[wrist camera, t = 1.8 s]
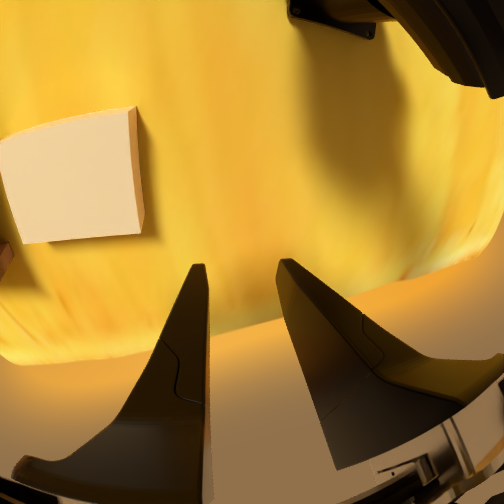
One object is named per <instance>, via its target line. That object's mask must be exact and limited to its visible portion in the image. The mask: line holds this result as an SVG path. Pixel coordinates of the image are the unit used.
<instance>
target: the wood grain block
mask: <svg viewBox="0 0 504 504" xmlns="http://www.w3.org/2000/svg"><path fill="white" fill-rule="evenodd" d="M13 257H14V254H13V252H12V250H11V247H10V245H9V243H0V280H1V278H2V277H3V275H4V273H5V271H6V269H7V267H8V265H9V264H10V262H11V260H12V258H13Z"/></svg>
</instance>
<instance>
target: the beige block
mask: <svg viewBox="0 0 504 504" xmlns="http://www.w3.org/2000/svg"><path fill="white" fill-rule="evenodd" d="M0 172H1V176H2V180H3V184H4V188H5V191H6V195H7V198H8V202H9V205H10V208H11V211H12V214H13V217H14V220H15V223H16V226H17V229H18V231H19V234H20V236H21V239H22V242H23V244H31V243H40V242H50V241H60V240H70V239H80V238H91V237H102V236H114V235H126V234H139V233H141V230H142V225H143V221H144V216H145V209H144V201H143V193H142V184H141V174H140V163H139V150H138V135H137V110H136V106H131V107H123V108H116V109H110V110H103V111H98V112H92V113H87V114H82V115H77V116H73V117H68V118H64V119H60V120H56V121H52V122H48V123H45V124H41V125H38V126H34V127H31V128H28V129H25V130H22V131H19V132H16V133H13V134H11V135H10V136H8V137H6V138H5V139H3V140H1V141H0Z"/></svg>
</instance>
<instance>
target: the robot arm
mask: <svg viewBox="0 0 504 504" xmlns="http://www.w3.org/2000/svg"><path fill="white" fill-rule="evenodd" d="M293 9H297V11H298V14H295V13H294V12H293ZM287 13H288V15H289V16H290V17H292V18H296V19H300V20H304V21H309V22H312V23H316V24H320V25H324V26H327V27H330V28H334V29H337V30H340V31H343V32H346V33H349V34H352V35H355V36H357V37H360V38H363V39H366V40H371V39H373V38H374V36H375V28H376V22H390V21H398V22H399V23H400V24H401V25H402V27H403V28H404V29H405V30H406V31H407V32H408V34H409V35H410V36H411V37H412V39H413V40H414V41H415V42H416V44H417V45H418V46H419V47H420V49H421V50H422V51H423V53H424V54H425V55H426V57H427V58H428V60H429V61H430V62H431V64H432V65H433V67H434V68H435V69H437V70H439V71H440V72H442V73H443V74H445V75H446V76H449V78H450V79H451V81H452V82H454V83H457V84H461V85H464V86H471V87H480V88H484V87H485V89H486V91H487V93H488V95H489V97H490V98H491V99H497V98H500V97H503V96H504V0H288V6H287ZM366 31H367V32H368V33H369V35H368V36H367V34H366ZM276 285H277V289H278V294H279V298H280V303H281V307H282V312H283V316H284V320H285V323H286V326H287V329H288V331H289V334H290V337H291V340H292V343H293V346H294V348H295V351H296V354H297V357H298V360H299V363H300V366H301V368H302V371H303V374H304V377H305V380H306V383H307V386H308V389H309V391H310V394H311V397H312V400H313V403H314V406H315V409H316V412H317V415H318V418H319V420H320V424H321V427H322V429H323V432H324V435H325V438H326V441H327V444H328V447H329V450H330V453H331V456H332V459H333V462H334V465H335V468H336V470H337V471H338V470H341V469H344V468H347V467H350V466H353V465H355V464H358V463H361V462H364V461H366V460H369V463H370V466H371V468H372V471H373V474H374V479H375V482H376V484H377V486H376V487H374V488H372V489H370V490H368V491H366V492H363V493H361V494H359V495H357V496H355V497H353V498H350V499H348V500H345V501H343V502H340V503H338V504H457V503H454V502H455V501H456V500H458V498H460V497H461V496H462V495H463V494H464V493H465V492H466V491H468V490H470V489H472V488H474V487H476V486H477V485H479V484H481V483H482V482H484V481H485V480H486V479H488V478H489V477H490V476H491V475H493V474H495V473H497V472H500V471H502V470H504V377H503V378H502V379H501V380H500V381H499V382H498V383H497V381H496V380H497V379H498V378H499V377H500V376H501V375H502V374H503V373H504V354H500V353H498V354H496V355H495V356H493V357H492V358H491V359H488V360H450V359H435V358H430V357H427V356H425V355H423V354H421V353H419V352H417V351H416V350H415V349H413V348H411V347H410V346H408V345H407V344H405V343H404V342H402V341H401V340H399V339H398V338H396V337H395V336H393V335H392V334H390V333H389V332H388V331H386V330H385V329H383V328H382V327H380V326H379V325H378V324H376V323H375V322H374V321H372V320H371V319H370V318H369V317H367V316H366V315H365V314H362V312H361V311H360V310H358V309H357V308H356V307H354V306H353V305H352V304H351V303H349V302H348V301H347V300H345V299H344V298H343V297H342V296H340V295H339V294H338V293H336V292H335V291H334V290H333V289H331V288H330V287H329V286H327V285H326V284H325V283H323V282H322V281H321V280H320V279H318V278H317V277H316V276H314V275H313V274H312V273H310V272H309V271H308V270H306V269H305V268H304V267H302V266H301V265H300V264H299V263H297V262H296V261H295V260H293V259H291V258H286V259H281V260H280V261H279V264H278V269H277V273H276ZM209 341H210V324H209V285H208V279H207V273H206V267H205V264H203V263H201V264H193V265H192V266H191V268H190V270H189V272H188V275H187V277H186V279H185V281H184V283H183V285H182V287H181V290H180V292H179V294H178V296H177V298H176V301H175V303H174V305H173V307H172V309H171V312H170V314H169V316H168V318H167V321H166V323H165V325H164V328H163V330H162V332H161V334H160V337H159V339H158V341H157V343H156V346H155V348H154V350H153V353H152V355H151V357H150V359H149V361H148V363H147V365H146V367H145V369H144V370H143V373H142V374H141V376H140V378H139V379H138V381H137V383H136V385H135V386H134V388H133V390H132V392H131V393H130V395H129V397H128V398H127V400H126V402H125V404H124V405H123V407H122V409H121V411H120V412H119V413H118V415H117V416H116V418H115V419H114V420H113V421H112V422H111V423H110V424H109V425H108V426H107V427H106V428H104V429H103V430H102V431H101V432H99V433H98V434H97V435H95V436H94V437H93V438H92V439H91V440H89V441H88V442H87V443H85V444H84V445H83V446H81V447H80V448H79V449H77V450H76V451H75V452H73V453H72V454H71V455H69V456H68V457H66V458H64V459H61V460H57V461H47V460H44V459H40V458H37V457H33V456H29V455H24V456H23V457H22V458H21V459H20V461H19V462H18V463H17V464H16V466H15V467H14V469H13V471H12V474H11V478H12V479H14V480H16V481H18V482H20V483H18V482H15V481H13V480H10V479H7V478H4V477H2V476H0V504H210V503H211V501H213V499H214V492H213V478H212V477H213V475H212V455H211V430H210V386H209V385H210V382H209V381H210V380H209V379H210V376H209V375H210V370H209V357H210V355H209V353H210V345H209V344H210V342H209ZM21 483H22V484H21ZM24 484H25V485H24ZM32 487H33V488H32ZM35 488H36V489H35ZM50 493H51V494H50ZM53 494H54V495H53ZM485 504H504V492H503V493H500V494H497V495H495V496H492V497H491V498H490V499H489V500H488V501H487V502H486V503H485Z"/></svg>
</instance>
